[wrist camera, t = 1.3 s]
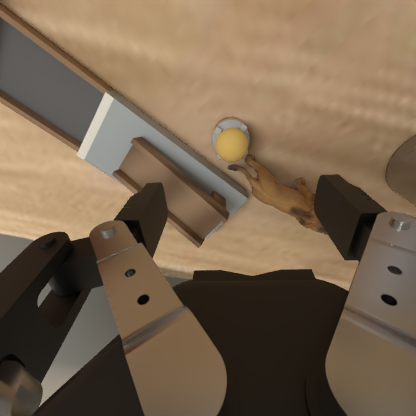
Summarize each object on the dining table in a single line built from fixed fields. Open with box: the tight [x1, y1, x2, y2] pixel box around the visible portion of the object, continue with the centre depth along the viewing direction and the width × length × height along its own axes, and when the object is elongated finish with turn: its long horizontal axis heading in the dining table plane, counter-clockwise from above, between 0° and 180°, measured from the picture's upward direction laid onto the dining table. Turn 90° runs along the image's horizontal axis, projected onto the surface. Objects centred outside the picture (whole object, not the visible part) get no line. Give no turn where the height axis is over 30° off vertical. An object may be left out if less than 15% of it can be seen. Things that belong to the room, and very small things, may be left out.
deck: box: [77, 90, 248, 238], centre depth 30 cm, size 21×9×2 cm, turn 52°
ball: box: [215, 128, 248, 162], centre depth 24 cm, size 4×4×4 cm
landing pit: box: [0, 3, 114, 152], centre depth 24 cm, size 14×9×4 cm, turn 52°
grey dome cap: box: [212, 117, 250, 160], centre depth 27 cm, size 5×5×3 cm
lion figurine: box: [228, 155, 328, 235], centre depth 27 cm, size 15×5×9 cm, turn 74°
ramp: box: [112, 137, 230, 248], centre depth 27 cm, size 14×6×5 cm, turn 52°
